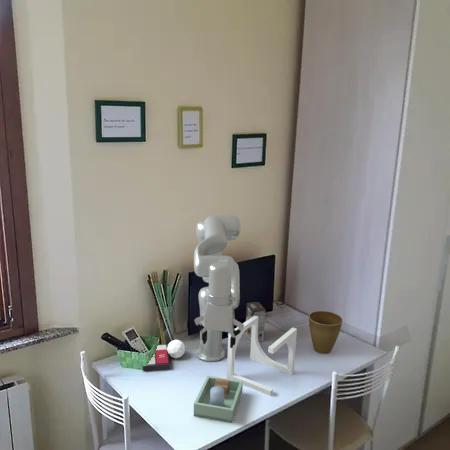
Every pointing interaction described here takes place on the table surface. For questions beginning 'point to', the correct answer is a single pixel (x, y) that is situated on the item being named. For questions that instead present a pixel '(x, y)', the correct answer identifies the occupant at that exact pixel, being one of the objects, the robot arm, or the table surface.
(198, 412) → the tote
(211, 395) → the cylinder
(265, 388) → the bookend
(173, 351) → the geometric ball
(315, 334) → the plant pot
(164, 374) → the table surface
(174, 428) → the table surface
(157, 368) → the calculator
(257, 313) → the coffee box
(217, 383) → the cube
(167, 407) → the table surface
